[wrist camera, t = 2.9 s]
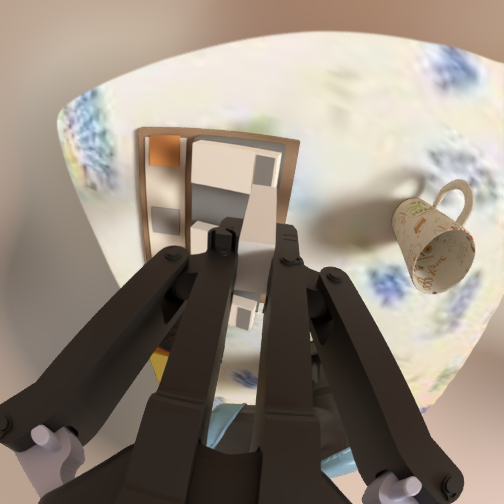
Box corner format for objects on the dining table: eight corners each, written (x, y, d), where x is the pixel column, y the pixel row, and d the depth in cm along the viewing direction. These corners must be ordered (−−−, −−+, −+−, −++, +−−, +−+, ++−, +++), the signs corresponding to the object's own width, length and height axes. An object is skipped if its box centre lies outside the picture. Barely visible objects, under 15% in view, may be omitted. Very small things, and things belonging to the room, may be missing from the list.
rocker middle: (264, 265, 31) (258, 278, 29) (199, 247, 33) (190, 258, 31) (269, 234, 29) (263, 246, 27) (200, 217, 31) (190, 227, 29)
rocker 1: (277, 190, 26) (271, 199, 24) (202, 175, 28) (190, 182, 26) (283, 151, 24) (277, 156, 22) (204, 138, 26) (192, 142, 23)
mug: (371, 231, 33) (396, 281, 25) (420, 148, 26) (467, 177, 18) (414, 254, 34) (443, 302, 26) (462, 181, 27) (506, 216, 19)
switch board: (268, 298, 41) (267, 316, 38) (152, 280, 41) (144, 295, 38) (299, 140, 28) (302, 146, 25) (142, 126, 28) (128, 132, 25)
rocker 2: (255, 318, 36) (249, 332, 34) (200, 301, 38) (192, 313, 36) (258, 297, 34) (253, 310, 32) (199, 279, 36) (191, 291, 34)
